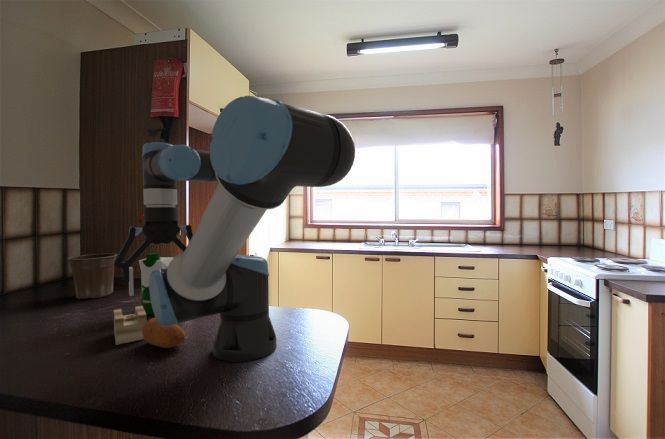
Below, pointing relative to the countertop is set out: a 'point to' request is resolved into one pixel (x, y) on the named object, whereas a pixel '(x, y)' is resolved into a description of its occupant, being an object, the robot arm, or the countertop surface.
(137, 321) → the cradle
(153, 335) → the potato
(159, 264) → the milk carton
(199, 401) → the countertop surface
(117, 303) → the countertop surface
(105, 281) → the plant pot
